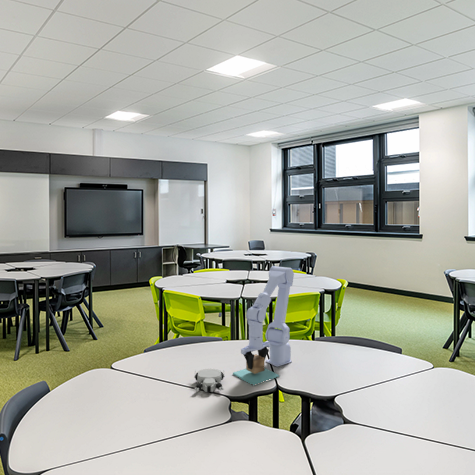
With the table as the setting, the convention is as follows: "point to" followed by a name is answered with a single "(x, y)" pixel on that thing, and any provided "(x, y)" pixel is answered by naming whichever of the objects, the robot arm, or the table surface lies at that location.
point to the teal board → (255, 376)
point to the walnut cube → (257, 364)
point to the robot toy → (209, 379)
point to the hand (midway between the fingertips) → (255, 366)
